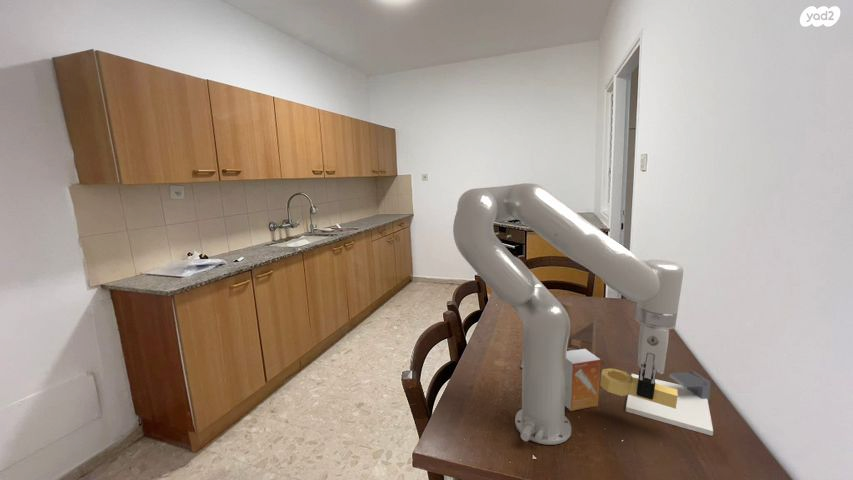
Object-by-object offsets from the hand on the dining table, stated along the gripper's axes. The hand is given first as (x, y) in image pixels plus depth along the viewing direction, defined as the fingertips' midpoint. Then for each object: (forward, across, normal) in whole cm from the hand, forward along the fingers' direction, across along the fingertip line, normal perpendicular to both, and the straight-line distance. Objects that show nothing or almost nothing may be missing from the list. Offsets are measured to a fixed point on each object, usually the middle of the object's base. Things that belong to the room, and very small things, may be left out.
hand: (644, 392), depth 82 cm
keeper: (+8, +19, -10) cm, 23 cm away
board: (+8, +14, -5) cm, 17 cm away
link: (+1, 0, +2) cm, 2 cm away
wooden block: (+9, +27, +19) cm, 34 cm away
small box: (+10, +3, +14) cm, 18 cm away
